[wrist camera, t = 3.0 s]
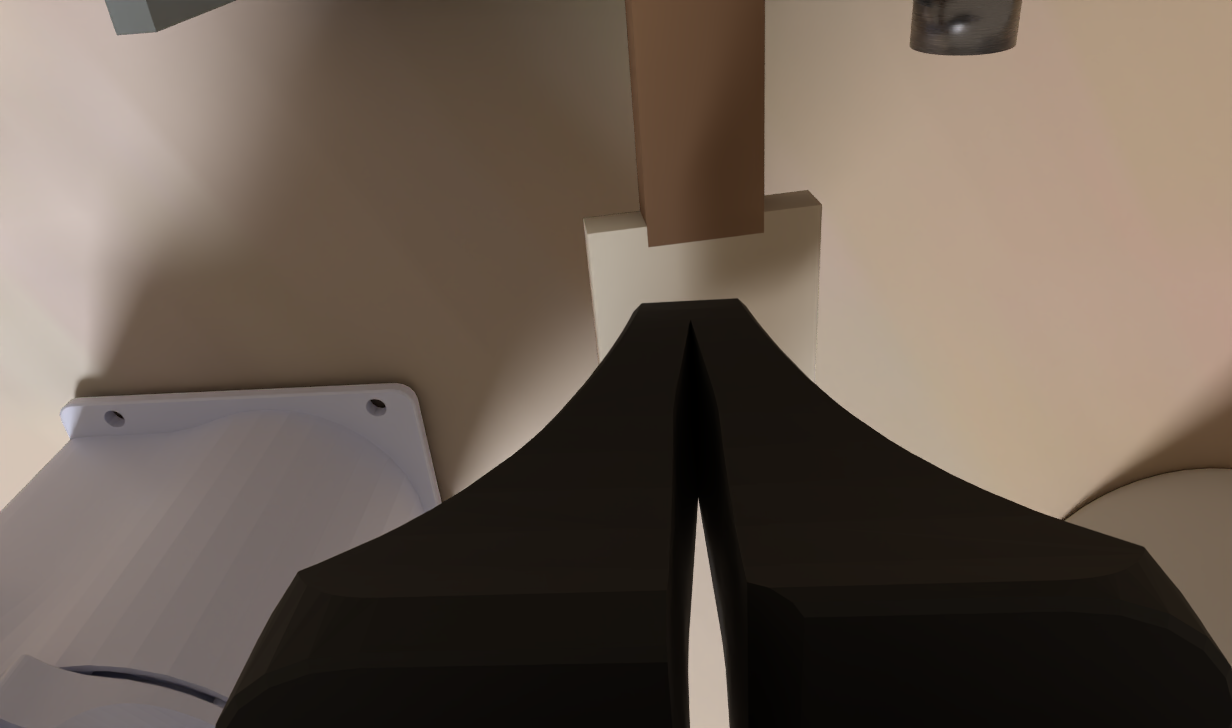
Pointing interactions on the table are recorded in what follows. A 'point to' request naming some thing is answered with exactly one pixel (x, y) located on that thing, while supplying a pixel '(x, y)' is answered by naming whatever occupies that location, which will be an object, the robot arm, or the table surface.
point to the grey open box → (155, 13)
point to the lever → (705, 183)
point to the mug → (1179, 536)
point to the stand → (964, 26)
